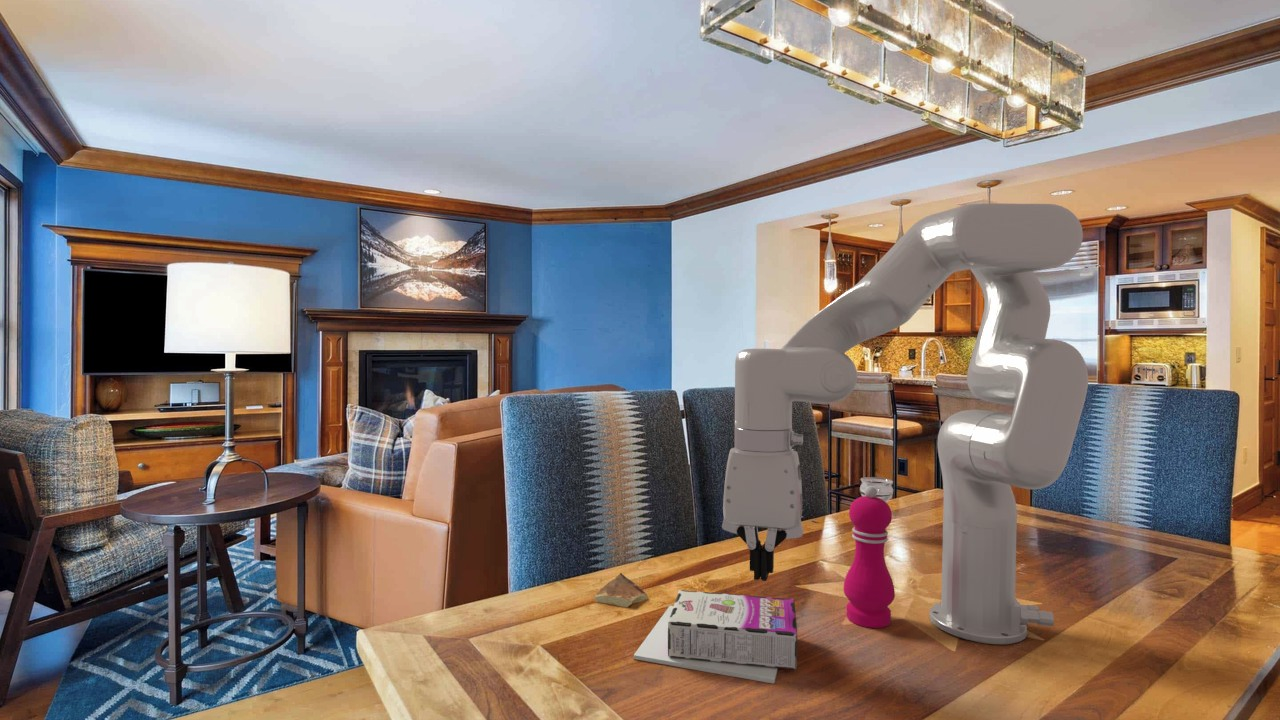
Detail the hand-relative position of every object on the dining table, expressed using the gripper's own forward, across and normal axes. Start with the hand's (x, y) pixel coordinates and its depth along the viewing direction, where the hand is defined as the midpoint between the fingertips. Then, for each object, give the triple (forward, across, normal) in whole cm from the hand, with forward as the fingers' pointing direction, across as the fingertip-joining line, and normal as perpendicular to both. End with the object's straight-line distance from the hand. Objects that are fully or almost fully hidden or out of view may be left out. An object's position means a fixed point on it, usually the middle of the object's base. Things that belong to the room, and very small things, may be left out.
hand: (761, 576), depth 87 cm
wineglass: (+10, -16, -61) cm, 64 cm away
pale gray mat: (+10, +6, 0) cm, 12 cm away
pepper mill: (+10, -14, -15) cm, 23 cm away
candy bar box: (+7, -5, 0) cm, 8 cm away
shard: (+10, +25, -11) cm, 29 cm away
